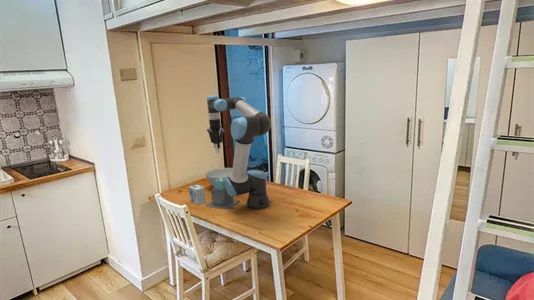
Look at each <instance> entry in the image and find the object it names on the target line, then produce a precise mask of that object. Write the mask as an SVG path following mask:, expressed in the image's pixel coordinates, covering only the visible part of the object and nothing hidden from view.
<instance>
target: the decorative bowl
mask: <svg viewBox="0 0 534 300" xmlns="http://www.w3.org/2000/svg"><path fill="white" fill-rule="evenodd" d="M232 169H233V167H222V168H221V167H219V168H215V169H212V170H209V171H207V172H206V173H205V177H206V179H207V181H208V183H209V184H210V185H211V186H212V187H214V188H215V185H214V180H216V179H218V178H229V174H230V173H231V172H232Z"/></svg>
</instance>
